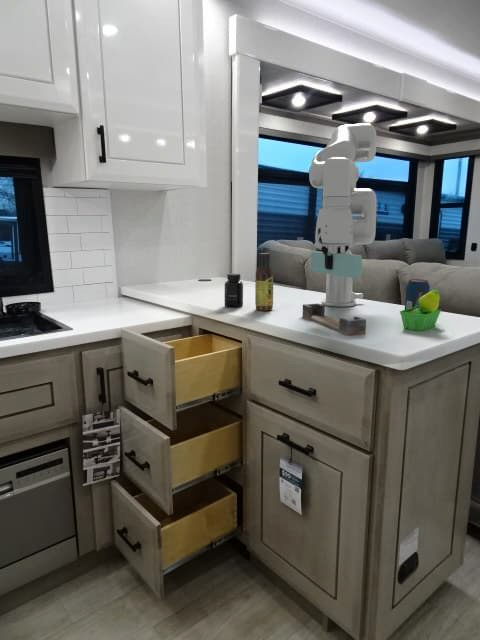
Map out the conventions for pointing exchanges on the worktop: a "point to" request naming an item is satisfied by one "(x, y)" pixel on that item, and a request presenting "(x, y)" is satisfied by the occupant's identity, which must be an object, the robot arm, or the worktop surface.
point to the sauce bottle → (264, 284)
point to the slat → (338, 264)
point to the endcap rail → (343, 325)
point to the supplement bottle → (233, 291)
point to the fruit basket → (422, 313)
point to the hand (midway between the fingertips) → (333, 268)
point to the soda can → (415, 292)
